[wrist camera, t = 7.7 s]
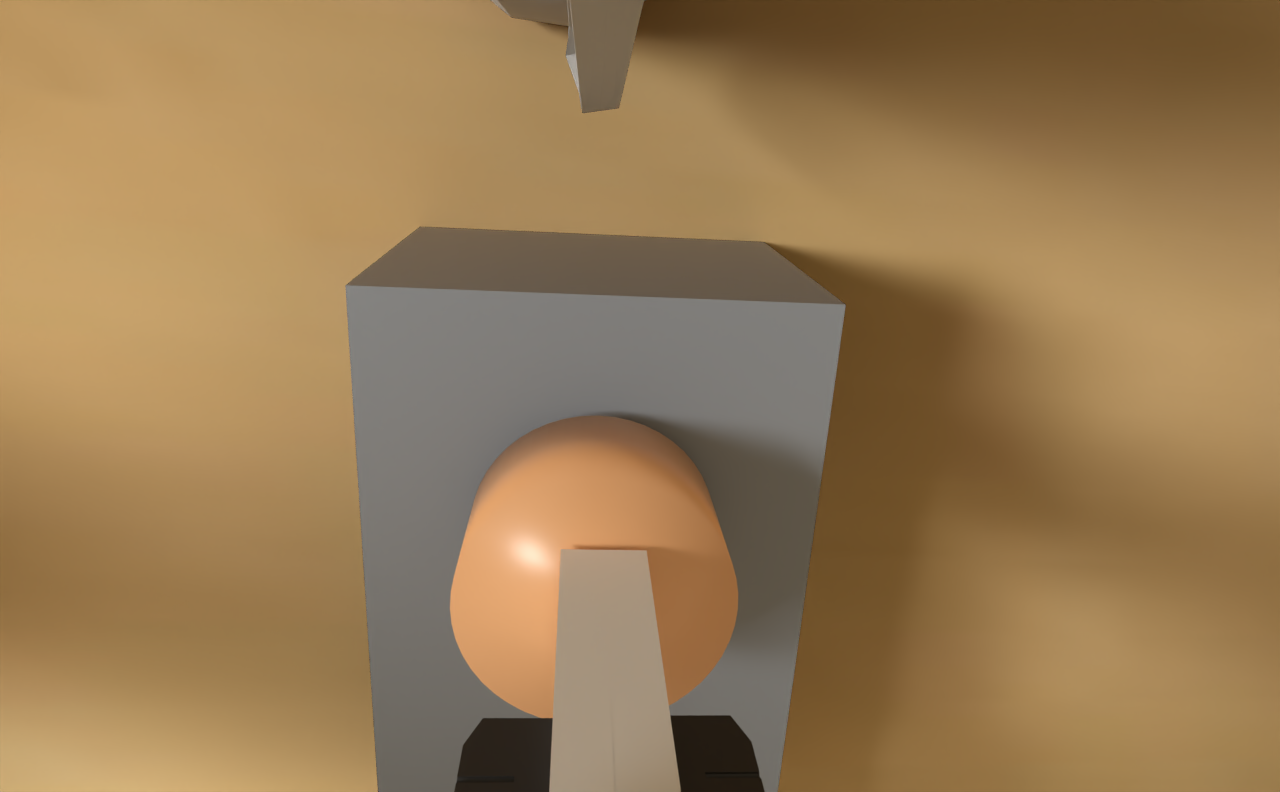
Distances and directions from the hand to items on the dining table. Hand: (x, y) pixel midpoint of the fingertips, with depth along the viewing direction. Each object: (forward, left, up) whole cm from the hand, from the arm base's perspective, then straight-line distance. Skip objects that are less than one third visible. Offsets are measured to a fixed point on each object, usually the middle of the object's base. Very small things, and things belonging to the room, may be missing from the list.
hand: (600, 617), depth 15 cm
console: (0, -5, -12) cm, 13 cm away
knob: (0, 0, -11) cm, 11 cm away
